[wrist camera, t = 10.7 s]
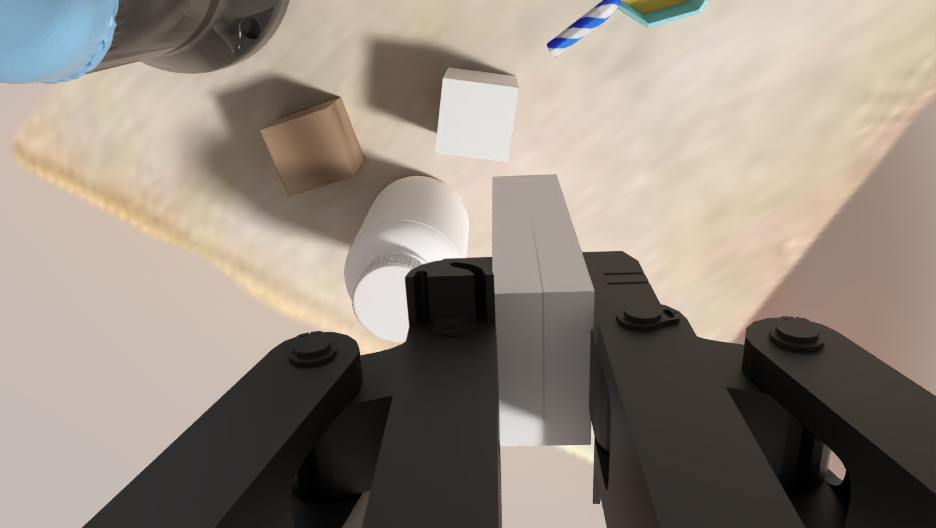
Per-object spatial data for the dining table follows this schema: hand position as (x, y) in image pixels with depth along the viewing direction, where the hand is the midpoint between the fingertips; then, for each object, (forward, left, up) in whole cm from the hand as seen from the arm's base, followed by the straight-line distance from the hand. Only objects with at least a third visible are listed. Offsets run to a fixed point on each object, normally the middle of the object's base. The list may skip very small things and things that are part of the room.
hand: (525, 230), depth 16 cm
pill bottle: (-7, -12, -37) cm, 39 cm away
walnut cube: (-14, -5, -37) cm, 39 cm away
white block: (-2, -3, -37) cm, 37 cm away
